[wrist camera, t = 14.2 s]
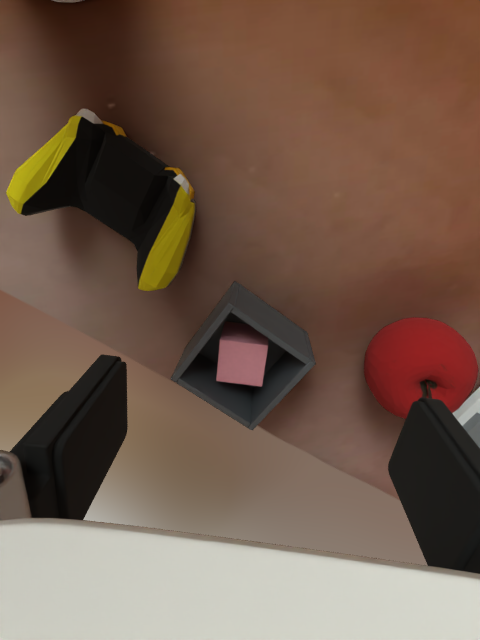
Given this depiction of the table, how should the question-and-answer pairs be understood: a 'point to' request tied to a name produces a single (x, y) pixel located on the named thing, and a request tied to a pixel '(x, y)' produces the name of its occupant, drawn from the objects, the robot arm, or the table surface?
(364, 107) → the table surface
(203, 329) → the grey bin
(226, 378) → the pink block
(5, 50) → the table surface
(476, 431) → the toy car
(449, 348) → the apple
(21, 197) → the gaming controller
